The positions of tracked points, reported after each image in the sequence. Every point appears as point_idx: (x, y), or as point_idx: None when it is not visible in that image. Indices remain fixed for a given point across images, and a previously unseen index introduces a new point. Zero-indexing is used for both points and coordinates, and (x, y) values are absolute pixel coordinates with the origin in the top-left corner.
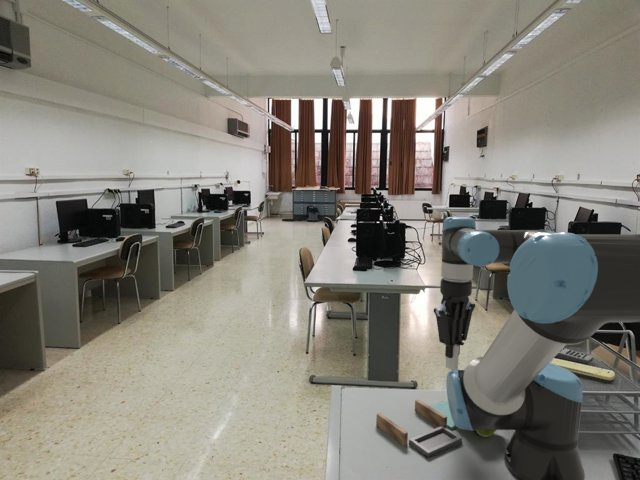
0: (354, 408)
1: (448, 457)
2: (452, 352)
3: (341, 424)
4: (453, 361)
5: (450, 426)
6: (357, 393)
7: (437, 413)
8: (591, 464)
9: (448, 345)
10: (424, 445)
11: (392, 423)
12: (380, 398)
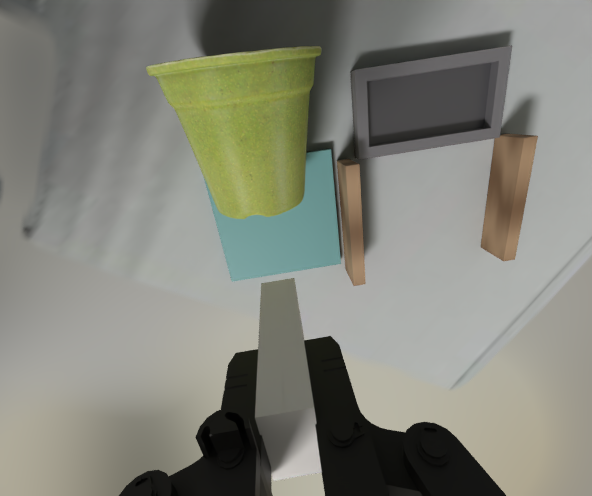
0: (478, 323)
1: (446, 22)
2: (312, 369)
3: (554, 275)
4: (299, 316)
5: (330, 154)
6: (425, 373)
7: (359, 196)
8: None
9: (371, 431)
10: (468, 103)
11: (520, 199)
12: (392, 342)
